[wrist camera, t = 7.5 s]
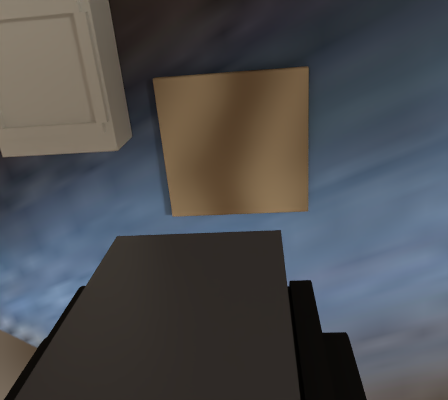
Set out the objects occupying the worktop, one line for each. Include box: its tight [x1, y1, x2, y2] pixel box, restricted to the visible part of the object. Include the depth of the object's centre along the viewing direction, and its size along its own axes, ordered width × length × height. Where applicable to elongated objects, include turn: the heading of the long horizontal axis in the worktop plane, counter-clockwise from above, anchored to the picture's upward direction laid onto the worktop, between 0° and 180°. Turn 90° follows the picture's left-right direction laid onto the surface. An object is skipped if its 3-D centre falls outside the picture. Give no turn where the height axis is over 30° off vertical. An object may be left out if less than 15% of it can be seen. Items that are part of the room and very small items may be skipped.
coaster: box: [153, 66, 309, 217], centre depth 26 cm, size 9×9×1 cm
